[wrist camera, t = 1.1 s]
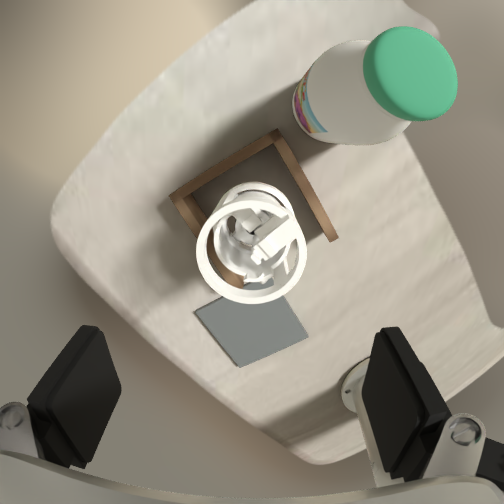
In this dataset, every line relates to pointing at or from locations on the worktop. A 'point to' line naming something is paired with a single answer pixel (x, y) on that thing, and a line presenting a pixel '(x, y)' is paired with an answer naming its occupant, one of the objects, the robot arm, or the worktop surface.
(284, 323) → the trivet
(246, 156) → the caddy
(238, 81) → the worktop surface
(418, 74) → the milk bottle
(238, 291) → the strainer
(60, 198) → the worktop surface
